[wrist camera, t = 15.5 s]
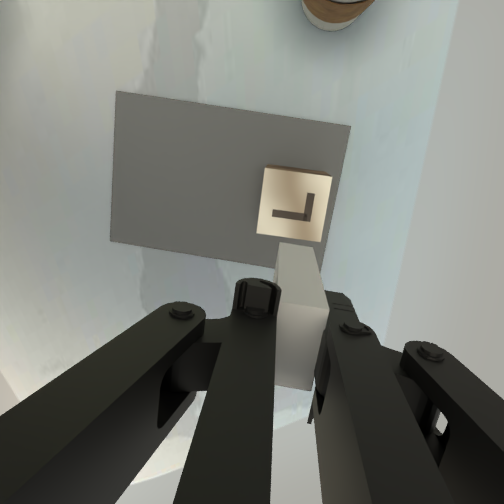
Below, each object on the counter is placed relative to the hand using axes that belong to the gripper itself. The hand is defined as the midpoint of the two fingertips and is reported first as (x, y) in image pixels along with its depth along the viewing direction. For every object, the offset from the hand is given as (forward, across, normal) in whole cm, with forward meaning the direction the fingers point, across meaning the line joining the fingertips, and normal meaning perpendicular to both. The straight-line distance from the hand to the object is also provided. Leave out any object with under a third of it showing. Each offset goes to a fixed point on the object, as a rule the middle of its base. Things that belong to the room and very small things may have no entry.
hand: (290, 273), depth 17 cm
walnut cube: (+18, 0, 0) cm, 18 cm away
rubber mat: (+24, -7, 0) cm, 25 cm away
